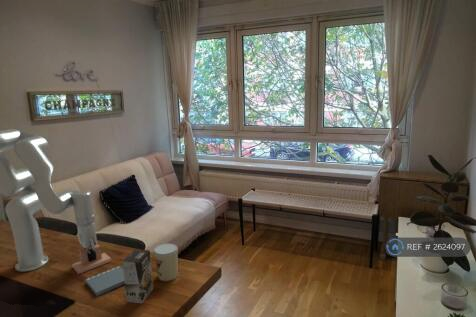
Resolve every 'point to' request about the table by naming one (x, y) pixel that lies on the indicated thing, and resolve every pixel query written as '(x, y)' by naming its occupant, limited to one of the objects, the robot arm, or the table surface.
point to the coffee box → (138, 276)
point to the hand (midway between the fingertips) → (91, 258)
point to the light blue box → (106, 281)
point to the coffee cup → (166, 261)
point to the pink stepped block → (87, 265)
